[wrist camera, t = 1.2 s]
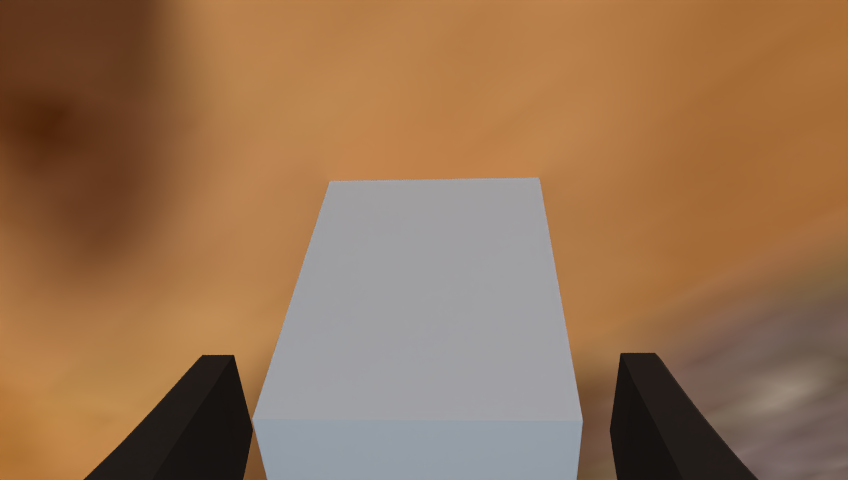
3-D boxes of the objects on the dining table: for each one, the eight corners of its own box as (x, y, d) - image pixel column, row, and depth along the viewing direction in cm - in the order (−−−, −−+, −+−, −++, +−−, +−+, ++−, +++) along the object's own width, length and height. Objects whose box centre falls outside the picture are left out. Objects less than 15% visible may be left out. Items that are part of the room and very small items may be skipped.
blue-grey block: (539, 177, 16) (582, 420, 10) (531, 338, 18) (562, 608, 12) (330, 180, 16) (252, 419, 10) (351, 338, 19) (298, 601, 13)
